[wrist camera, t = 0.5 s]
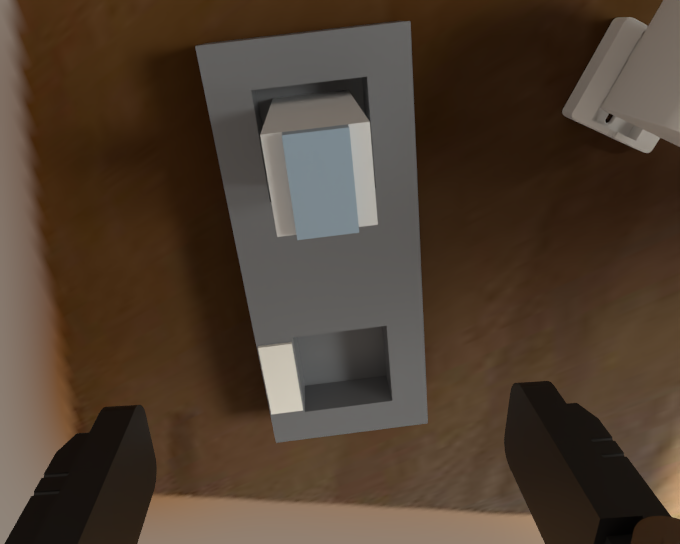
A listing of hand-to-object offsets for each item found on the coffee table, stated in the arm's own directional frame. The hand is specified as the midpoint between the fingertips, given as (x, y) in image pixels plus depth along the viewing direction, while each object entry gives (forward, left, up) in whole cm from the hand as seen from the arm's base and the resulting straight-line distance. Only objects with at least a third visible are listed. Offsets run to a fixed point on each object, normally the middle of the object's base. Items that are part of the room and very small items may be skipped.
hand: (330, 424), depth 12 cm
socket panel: (0, +4, -21) cm, 22 cm away
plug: (0, -3, -21) cm, 21 cm away
